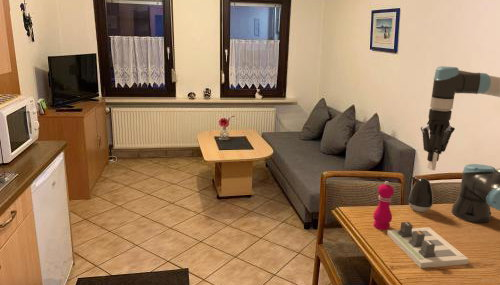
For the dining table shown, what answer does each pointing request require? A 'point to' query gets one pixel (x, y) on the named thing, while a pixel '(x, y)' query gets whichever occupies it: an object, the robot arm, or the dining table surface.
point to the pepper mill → (383, 207)
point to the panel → (442, 249)
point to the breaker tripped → (417, 238)
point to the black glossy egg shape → (421, 195)
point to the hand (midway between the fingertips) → (431, 168)
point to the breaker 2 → (427, 249)
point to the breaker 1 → (405, 229)
